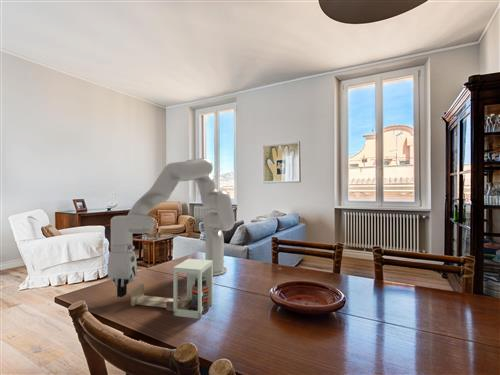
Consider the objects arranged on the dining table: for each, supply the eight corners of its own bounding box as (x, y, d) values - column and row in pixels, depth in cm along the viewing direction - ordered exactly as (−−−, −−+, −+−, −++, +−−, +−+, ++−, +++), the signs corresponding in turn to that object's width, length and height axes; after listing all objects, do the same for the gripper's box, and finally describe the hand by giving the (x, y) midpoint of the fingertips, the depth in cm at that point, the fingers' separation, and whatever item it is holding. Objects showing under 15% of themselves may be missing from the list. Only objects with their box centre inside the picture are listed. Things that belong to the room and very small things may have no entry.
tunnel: (188, 301, 101) (188, 258, 101) (212, 304, 98) (212, 260, 98) (173, 315, 90) (173, 267, 90) (200, 318, 88) (200, 269, 88)
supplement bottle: (205, 315, 90) (205, 282, 90) (189, 313, 91) (189, 281, 91) (211, 307, 96) (211, 276, 96) (196, 306, 97) (195, 275, 97)
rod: (130, 306, 96) (129, 290, 96) (142, 298, 103) (142, 283, 103) (184, 312, 91) (184, 295, 91) (193, 304, 98) (193, 288, 98)
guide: (173, 303, 99) (173, 295, 99) (180, 304, 98) (180, 296, 98) (166, 310, 94) (166, 301, 94) (173, 311, 93) (173, 302, 93)
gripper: (144, 247, 103) (145, 293, 103) (112, 245, 106) (112, 290, 107) (132, 251, 96) (132, 302, 96) (97, 249, 99) (97, 298, 99)
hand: (121, 295), depth 101 cm, fingers closed
